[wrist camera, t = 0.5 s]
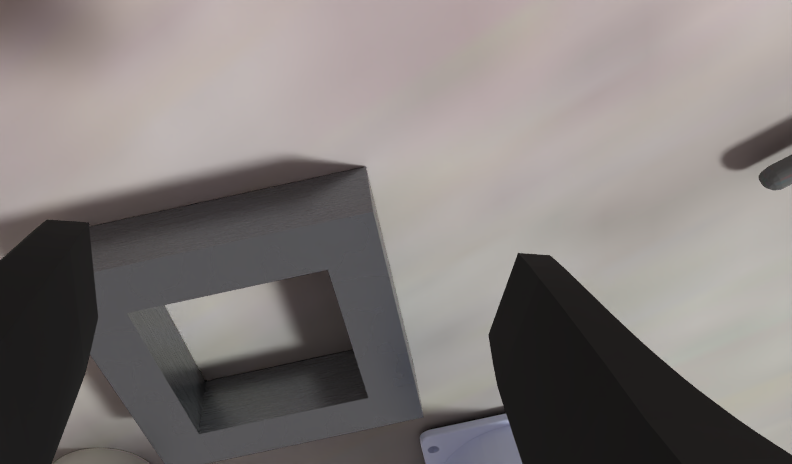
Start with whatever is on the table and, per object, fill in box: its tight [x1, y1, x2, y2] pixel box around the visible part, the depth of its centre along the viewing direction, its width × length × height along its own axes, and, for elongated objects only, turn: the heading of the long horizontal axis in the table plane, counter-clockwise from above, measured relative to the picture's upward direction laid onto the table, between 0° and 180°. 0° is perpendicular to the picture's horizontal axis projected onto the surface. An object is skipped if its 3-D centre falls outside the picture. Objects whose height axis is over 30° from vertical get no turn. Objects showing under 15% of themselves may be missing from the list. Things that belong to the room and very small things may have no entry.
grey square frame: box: [89, 167, 423, 464], centre depth 24 cm, size 10×10×2 cm
